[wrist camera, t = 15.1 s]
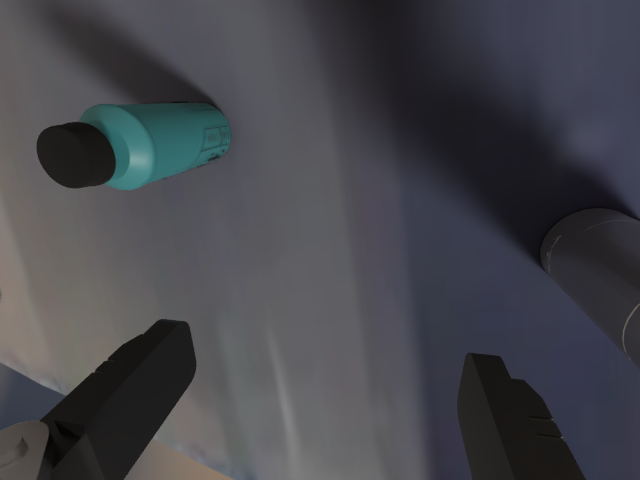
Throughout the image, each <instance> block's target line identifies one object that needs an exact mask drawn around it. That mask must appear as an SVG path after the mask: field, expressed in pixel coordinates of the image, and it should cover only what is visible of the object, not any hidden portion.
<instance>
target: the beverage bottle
mask: <svg viewBox="0 0 640 480" xmlns="http://www.w3.org/2000/svg"><path fill="white" fill-rule="evenodd" d="M208 104H209V103H208ZM208 104H204V103H203V102H202V103H196V102H195V103H194V102H193V103H192V102H190V103H189V102H188V103H187V102H171V103H159V104H158V103H157V104H147V103H146V104H130V105H113V104H99V105H95V106H93V107H91V108H89V109H88V110H86V111H85V112H84V113H83V115H82V116H81V118H80V120H79V122H71V123H66V124H63V125H57V126H51V127H49V128H46V129H45V130H43V131H42V132H41V133H40V135H39V137H38V140H37V154H38V158H39V161H40V163H41V165H42V167H43V169H44V170H45V171H46V173H47V174H48V175H49V176H50V177H51V178H52V179H53V180H54V181H56V182H57V183H59V184H60V185H62V186H65V187H68V188H83V187H88V186H97V185H101V184H104V183H105V184H106V185H108V186H110V187H113V188H116V189H120V190H132V189H136V188H139V187H141V186H143V185H145V184H148V183H150V182H153V181H156V180H159V179H162V178H164V179H165V177H168V176H172V175H175V174H178V173H180V172H183V171H186V170H189V169H191V170H192V168H194V167H198V166H199V167H200V166H201V167H202V165H204V166H205V165H206V163H208V162H211V161H214V160H217V159H219V158H220V157H222V156H223V155H224V154H225V153H227V152H226V151H228V149H229V146H230V141H231V131H230V126H229V124H228V122H227V120H226V118H225V117H224V115H223V114H222V113H221V112H220V111H219V110H217V108H216V107H215V108H214V107H213V105H212V106H211V105H208ZM187 172H188V171H187ZM181 174H182V173H181ZM179 175H180V174H179ZM171 178H172V177H171ZM167 179H168V178H167ZM162 180H163V179H162Z"/></svg>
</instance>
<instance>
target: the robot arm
mask: <svg viewBox="0 0 640 480" xmlns="http://www.w3.org/2000/svg"><path fill="white" fill-rule="evenodd" d="M540 258H541V263H542V266H543V268H544V270H545V271H546V272H547V273H548V275H549V276H550V277H551V278H552V279H553V280H554V281H555V282H556V283H557V284H558V285H559V286H560V287H561V288H562V289H563V290H564V292H565V293H566V294H567V295H568V296H569V297H570V298H571V299H572V300H573V301H574V302H575V303H576V304H577V305H578V306H579V307H580V308H581V309H582V310H583V311H584V312H585V313H586V315H587V316H588V317H589V318H590V319H591V320H592V321H593V322H594V323H595V324H596V325H597V326H598V327H599V328H600V329H601V330H602V331H603V332H604V333H605V334H606V335H607V336H608V337H609V338H610V339H611V340H612V342H613V343H614V344H615V345H616V346H617V347H618V348H619V349H620V350H621V351H622V352H623V353H624V354H625V355H626V356H627V357H628V358H629V359H630V360H631V361H632V362H633V363H634V364H635V365H636V366H637V367H638V368H639V369H640V221H638V220H636V219H633V218H631V217H629V216H627V215H625V214H622V213H620V212H618V211H615V210H611V209H607V208H592V209H585V210H582V211H578V212H575V213H573V214H571V215H569V216H567V217H565V218H563V219H562V220H561V221H559V222H558V223H556V224H555V225H554V226H553V227H552V228H551V229H550V230H549V232H548V233H547V235H546V236H545V238H544V240H543V243H542V245H541V250H540ZM195 371H196V357H195V352H194V347H193V342H192V337H191V332H190V327H189V325H188V323H187V322H185V321H176V320H167V319H161V320H158V321H157V322H156V323H155V324H154V325H153V326H151V327H150V328H149V329H148V330H147V331H146V332H145V333H144V334H140V335H139V336H137V337H135V338H134V339H132V340H130V341H128V342H127V343H125V344H123V345H122V346H121V347H120V348H118V349H117V350H116V351H115V352H114V353H113V354H112V355H111V356H110V357H109V358H108V360H107V361H104V362H103V363H102V364H101V365H100V366H99V367H98V368H97V369H96V371H95V373H91V374H90V375H89V376H88V377H87V378H86V379H85V380H84V381H83V382H81V383H80V384H79V385H78V386H77V387H76V388H75V389H74V390H73V391H72V392H71V393H70V394H68V395H67V396H66V397H65V398H64V399H63V400H62V401H61V402H60V403H59V404H58V405H56V406H55V407H54V408H53V409H52V410H51V411H50V412H49V413H48V414H47V415H46V416H44V417H43V418H42V419H41V420H40V421H28V422H22V423H19V424H16V425H13V426H10V427H8V428H6V429H4V430H2V431H0V480H124V478H125V477H126V475H127V474H128V472H129V471H130V469H131V468H132V467H133V465H134V464H135V462H136V461H137V459H138V458H139V457H140V455H141V454H142V452H143V451H144V449H145V448H146V447H147V445H148V444H149V442H150V441H151V439H152V438H153V436H154V435H155V434H156V432H157V431H158V429H159V428H160V426H161V425H162V424H163V422H164V421H165V419H166V418H167V416H168V415H169V413H170V412H171V411H172V409H173V408H174V406H175V405H176V403H177V402H178V401H179V399H180V398H181V396H182V395H183V393H184V392H185V390H186V389H187V388H188V386H189V385H190V383H191V382H192V380H193V377H194V375H195ZM457 410H458V419H459V424H460V428H461V433H462V437H463V441H464V446H465V450H466V454H467V458H468V463H469V467H470V471H471V475H472V480H586V479H585V477H584V475H583V473H582V472H581V470H580V468H579V466H578V464H577V462H576V460H575V459H574V457H573V455H572V453H571V451H570V449H569V447H568V445H567V444H566V442H564V441H563V436H562V434H561V432H560V430H559V429H558V427H557V425H556V423H554V422H553V417H552V416H551V414H550V412H549V410H548V408H547V406H546V404H545V402H544V401H543V399H542V398H541V397H540V396H539V395H538V394H537V393H536V392H535V391H534V390H533V389H532V388H531V387H530V386H529V385H528V384H527V383H526V382H525V381H524V380H519V379H511V378H510V375H509V373H508V371H507V369H506V367H505V364H504V362H503V360H502V359H501V357H500V356H495V355H485V354H476V353H467V355H466V357H465V362H464V367H463V372H462V377H461V382H460V387H459V393H458V400H457Z"/></svg>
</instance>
